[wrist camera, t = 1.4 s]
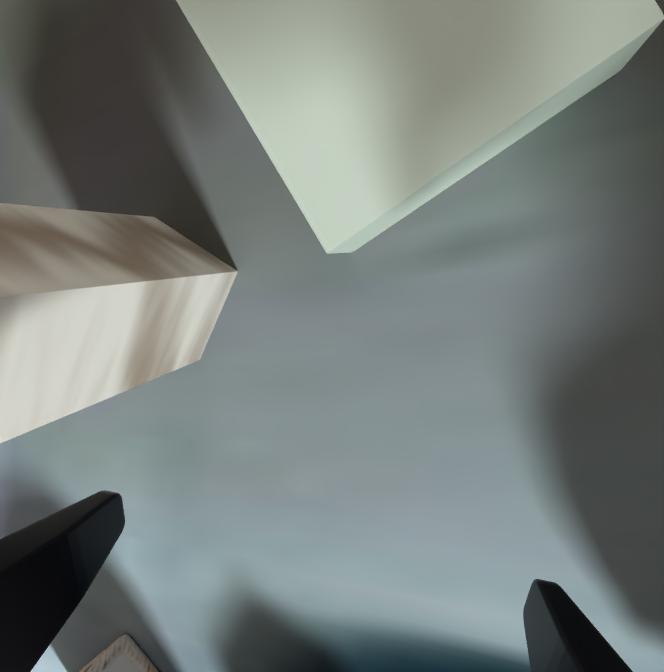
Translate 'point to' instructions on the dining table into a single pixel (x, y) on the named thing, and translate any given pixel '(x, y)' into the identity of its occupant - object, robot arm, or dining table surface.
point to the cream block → (96, 308)
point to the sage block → (404, 89)
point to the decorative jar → (121, 658)
